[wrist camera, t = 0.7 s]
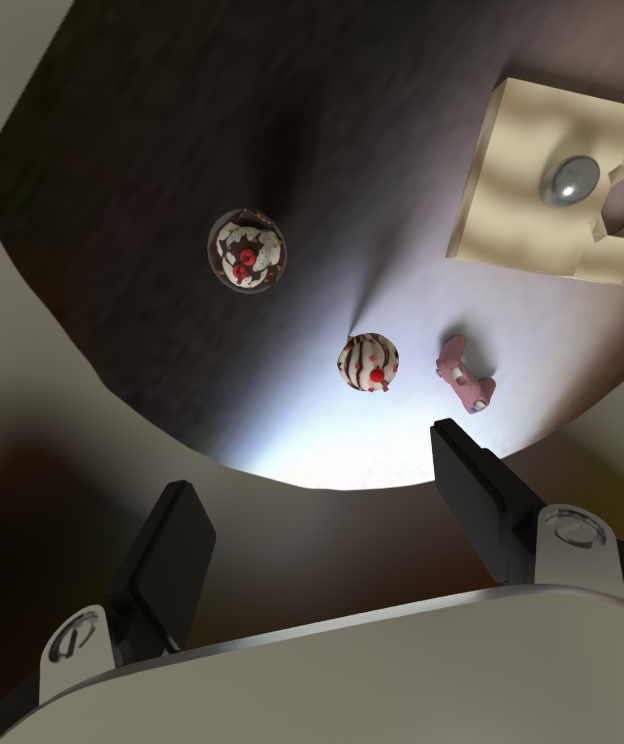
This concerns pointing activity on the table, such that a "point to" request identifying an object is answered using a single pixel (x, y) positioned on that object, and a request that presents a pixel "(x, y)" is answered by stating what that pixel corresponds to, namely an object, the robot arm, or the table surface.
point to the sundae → (247, 250)
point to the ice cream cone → (368, 362)
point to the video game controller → (463, 377)
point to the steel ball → (569, 182)
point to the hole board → (523, 179)
